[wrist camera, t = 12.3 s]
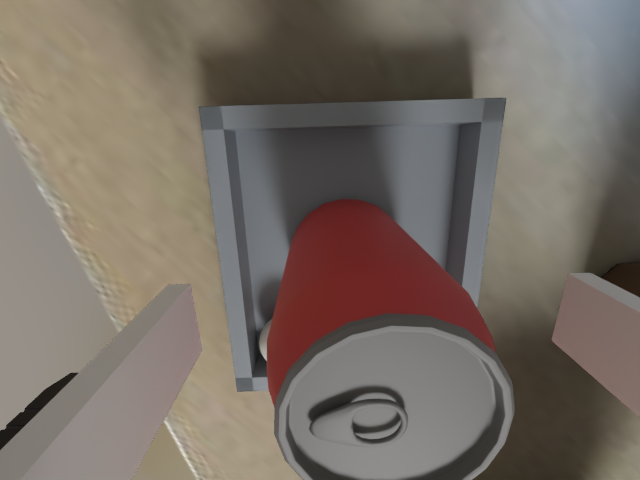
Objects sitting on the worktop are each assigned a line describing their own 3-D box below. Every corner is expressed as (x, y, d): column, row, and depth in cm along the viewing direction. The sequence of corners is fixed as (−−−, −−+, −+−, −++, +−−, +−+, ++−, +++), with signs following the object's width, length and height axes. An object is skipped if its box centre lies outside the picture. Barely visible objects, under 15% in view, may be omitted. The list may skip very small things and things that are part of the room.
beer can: (283, 202, 18) (223, 314, 6) (399, 190, 17) (559, 281, 6) (297, 305, 20) (272, 535, 8) (401, 295, 19) (526, 513, 8)
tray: (218, 113, 17) (198, 106, 14) (473, 105, 17) (506, 97, 14) (247, 358, 22) (237, 391, 19) (446, 352, 22) (466, 383, 19)
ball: (261, 306, 20) (252, 334, 17) (308, 305, 20) (307, 333, 17) (265, 347, 20) (257, 380, 18) (310, 345, 20) (309, 378, 18)
